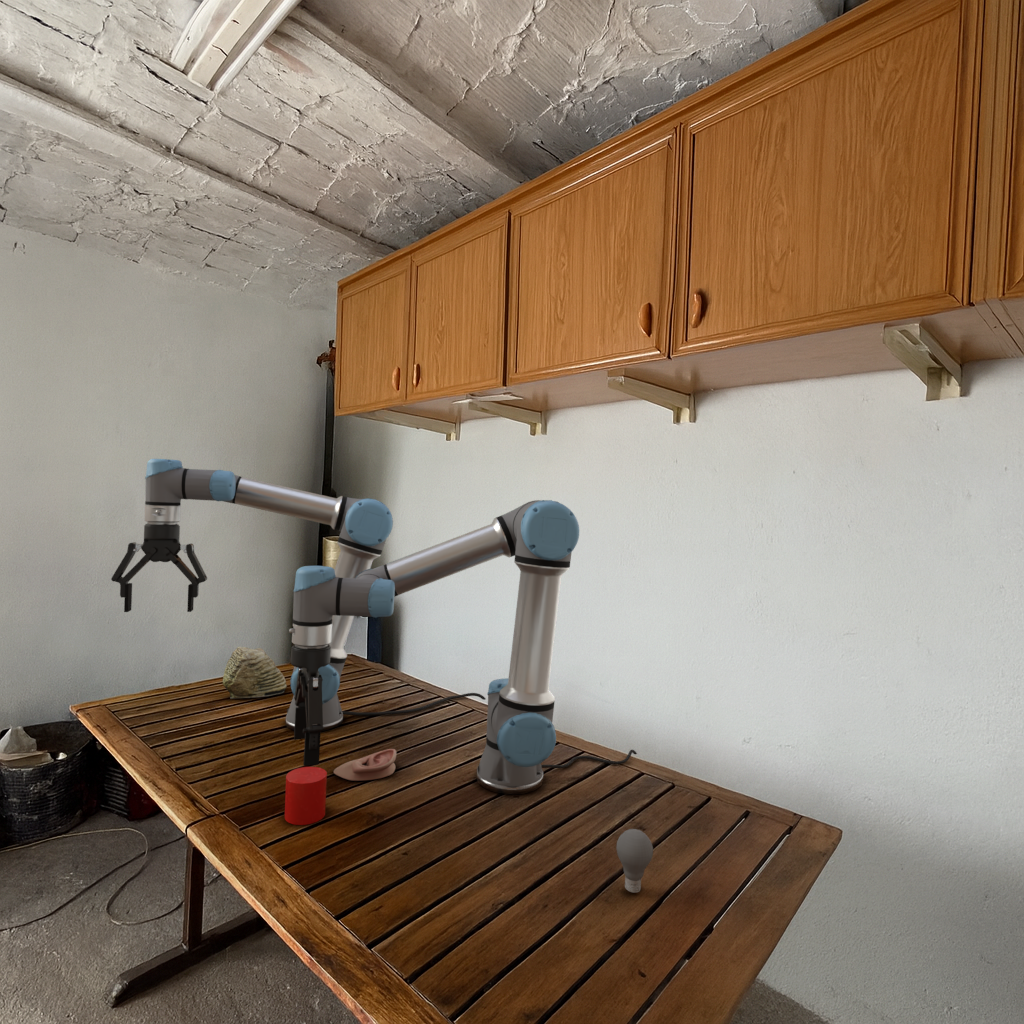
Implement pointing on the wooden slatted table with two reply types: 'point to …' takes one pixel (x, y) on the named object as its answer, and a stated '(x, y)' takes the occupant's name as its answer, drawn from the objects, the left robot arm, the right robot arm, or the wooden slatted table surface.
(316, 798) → the cylinder
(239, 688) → the fossil
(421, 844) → the wooden slatted table surface
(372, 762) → the anatomical model
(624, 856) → the light bulb
